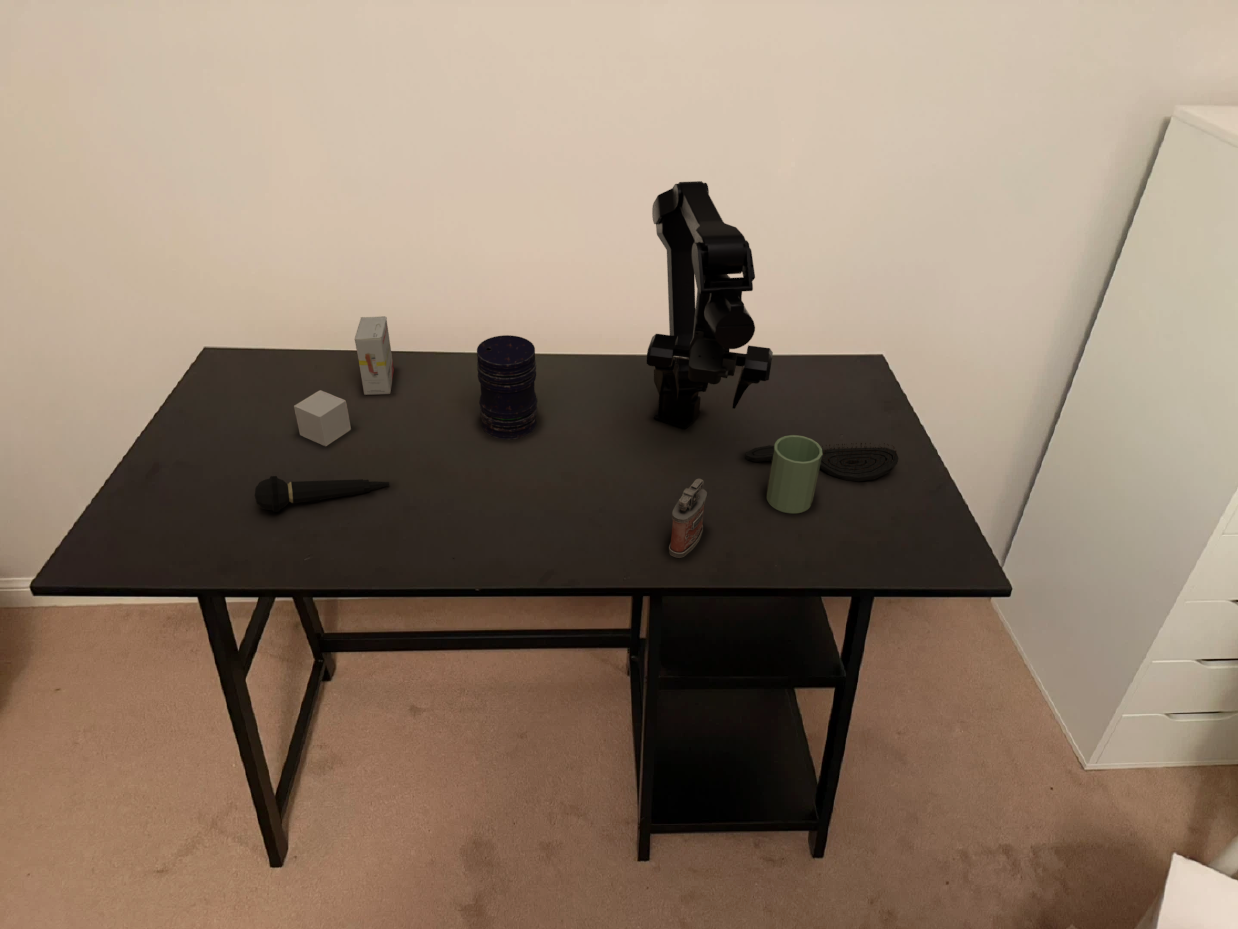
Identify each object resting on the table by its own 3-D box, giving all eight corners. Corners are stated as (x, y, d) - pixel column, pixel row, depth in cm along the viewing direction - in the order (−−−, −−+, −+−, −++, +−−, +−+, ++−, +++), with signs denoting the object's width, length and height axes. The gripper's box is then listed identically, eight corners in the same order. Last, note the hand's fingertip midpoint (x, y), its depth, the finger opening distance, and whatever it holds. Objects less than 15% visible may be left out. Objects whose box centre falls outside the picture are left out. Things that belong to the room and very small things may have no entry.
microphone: (387, 495, 151) (255, 507, 144) (385, 461, 149) (252, 472, 142) (392, 506, 146) (256, 519, 139) (391, 472, 144) (253, 483, 137)
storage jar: (538, 408, 167) (537, 335, 158) (536, 440, 160) (534, 365, 150) (483, 407, 167) (478, 334, 158) (478, 439, 159) (472, 364, 150)
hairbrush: (746, 430, 159) (895, 436, 157) (745, 447, 161) (892, 454, 159) (746, 459, 152) (902, 466, 150) (745, 476, 155) (898, 484, 152)
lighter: (684, 560, 137) (689, 508, 130) (663, 552, 138) (668, 500, 132) (707, 530, 142) (713, 478, 136) (687, 522, 143) (693, 471, 137)
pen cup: (759, 503, 148) (767, 453, 142) (776, 479, 153) (784, 430, 147) (802, 519, 145) (812, 468, 139) (818, 494, 150) (828, 444, 144)
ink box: (368, 370, 176) (359, 315, 168) (394, 370, 176) (387, 314, 169) (362, 395, 169) (353, 338, 162) (390, 395, 169) (382, 338, 162)
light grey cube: (325, 418, 163) (320, 389, 159) (351, 429, 160) (346, 400, 157) (299, 435, 158) (293, 405, 155) (325, 446, 156) (319, 417, 152)
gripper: (642, 332, 132) (637, 423, 142) (773, 349, 130) (759, 440, 139) (655, 298, 141) (650, 385, 150) (778, 313, 138) (765, 401, 148)
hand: (704, 403), depth 147 cm, fingers open, 9 cm apart
